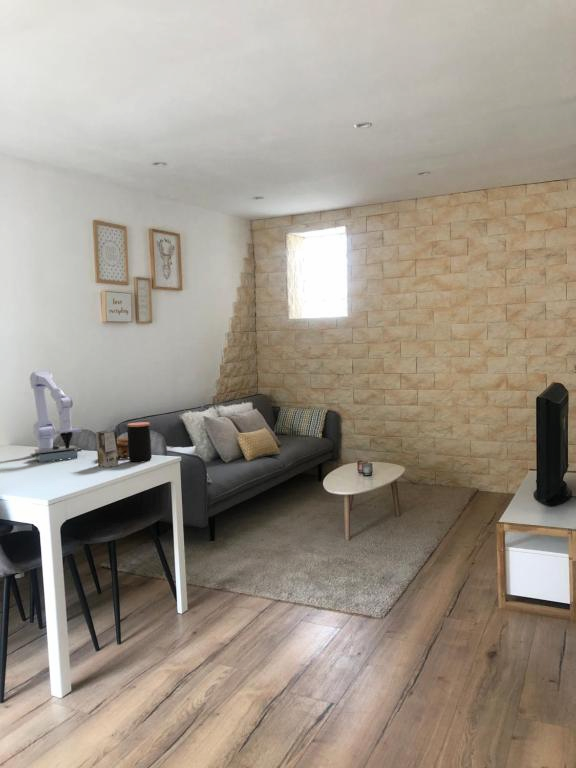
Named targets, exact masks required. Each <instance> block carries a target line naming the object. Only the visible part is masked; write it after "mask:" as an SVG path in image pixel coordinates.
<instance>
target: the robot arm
mask: <svg viewBox="0 0 576 768" xmlns="http://www.w3.org/2000/svg"><path fill="white" fill-rule="evenodd" d="M53 379H54V377H53V374H52V372H51V371H50V370H49V371H39V372H32V373H30V376H29V382H30V388H31V389H33V392H34V393H33V395H34V400H35V408H36V414H37V421H36V422H35V423H33V435H34V437H35V438H36V439H37V449H44V448H53V447H52V446H54V444H53V438H54V436H55V435H59V436H60V437H61V439H62V441H63V443H64V446H65V447H66V448H69V446H70V445H71V444H70V443H71V440H72V437H73V434H74V433H82V428H81V427H78V428H77V427H76V428H73V426H72V422H73V421H72V411H71V408H72V407H73V404H74V403H73V399H72V397H71V396H68V395H66V394H65V393H64V391H63V390H62V389H61V388H60V387H57V385H56V383H55V382H54V380H53ZM46 388H47V389H48V390H49V391H50V396H51V397H52V399H53V400H54V401H55V406H56V409H57V413H58V420H59V429H58V430H57V429H56V427H55V423H54V421H53V420H51V419H49V415H48V408H47V400H46V396H45V395H46V393H45V389H46Z"/></svg>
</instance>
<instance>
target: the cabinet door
mask: <svg viewBox="0 0 576 768" xmlns="http://www.w3.org/2000/svg"><path fill="white" fill-rule="evenodd" d="M52 447H53V448H44V449H38V448H36V449H34V453H35V452H37V453H46V452H54V451H63V450H71V449H78V448H79V447H78V446H77V445H73V444H72V445H71V444H70V445H69V448H66V447H65V445H64V446H60V445H53V446H52Z"/></svg>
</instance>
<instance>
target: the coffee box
mask: <svg viewBox="0 0 576 768" xmlns="http://www.w3.org/2000/svg"><path fill="white" fill-rule="evenodd" d="M117 433H118V432H117V431H116V430H108V429H107V430H100V431H96V432H95V438H96V441H95V442H96V452H97V453H96V454H97V465H100V466H99V467H103V466H104V468H111V467H110V466H112V467H117V466H116V465H118V466H119V459H118V450H117V439H118V436H117Z"/></svg>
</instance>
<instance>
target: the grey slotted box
mask: <svg viewBox="0 0 576 768" xmlns="http://www.w3.org/2000/svg"><path fill="white" fill-rule="evenodd" d="M79 452H82V448H80V447H78V449H71V450H63V451H54V452H46V453H37V452H35V451H34V452H33V453H30V454H29V455H30V457H31V458H35V460H36V459H37V460H38V461H39V463H40V462H43V463H47V462H46V461H51V462H54V461H53V460H59V461H61V460H60V459H67V460H69V459H68V458H75V459H78V458H77V457H78V453H79ZM37 460H36V461H37ZM38 461H37V462H38Z"/></svg>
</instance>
